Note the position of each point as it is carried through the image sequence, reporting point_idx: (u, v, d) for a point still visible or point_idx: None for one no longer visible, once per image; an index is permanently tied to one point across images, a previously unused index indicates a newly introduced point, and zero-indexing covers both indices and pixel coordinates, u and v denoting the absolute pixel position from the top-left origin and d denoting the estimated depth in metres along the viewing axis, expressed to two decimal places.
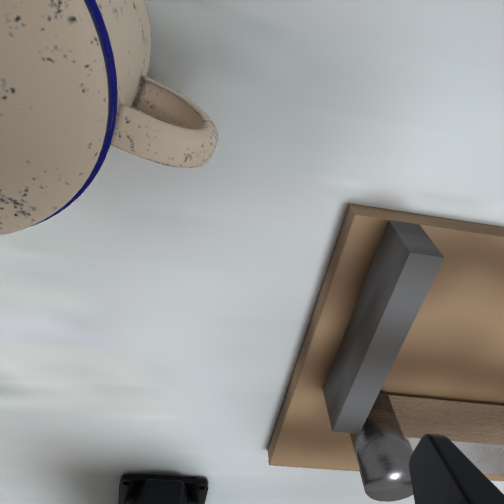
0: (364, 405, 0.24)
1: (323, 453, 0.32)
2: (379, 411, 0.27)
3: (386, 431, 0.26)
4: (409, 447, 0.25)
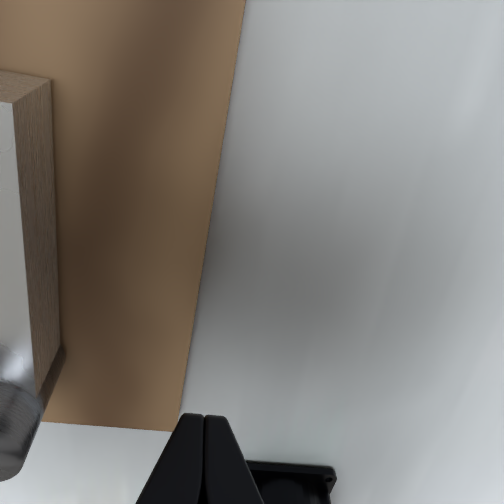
0: None
1: (147, 382, 0.22)
2: None
3: None
4: None
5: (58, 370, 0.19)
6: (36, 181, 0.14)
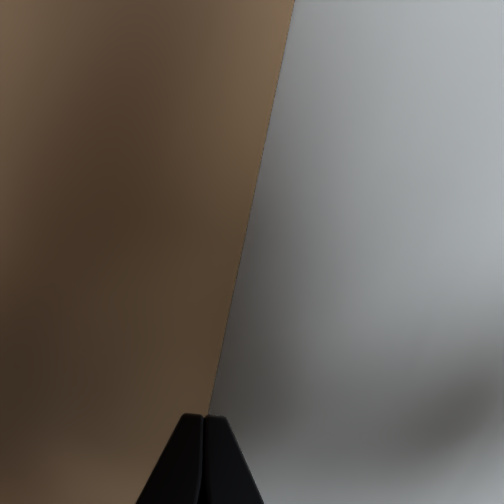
0: None
1: None
2: None
3: None
4: None
5: None
6: None
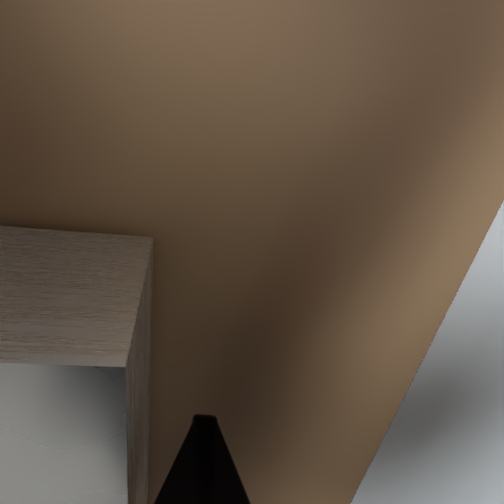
0: None
1: None
2: None
3: None
4: None
5: None
6: (140, 423, 0.08)
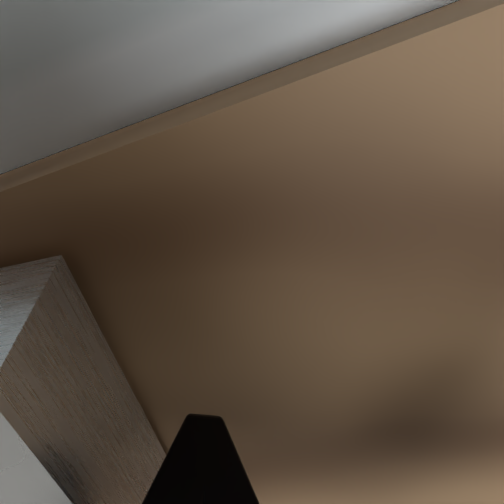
0: None
1: None
2: None
3: None
4: None
5: None
6: (103, 435, 0.08)
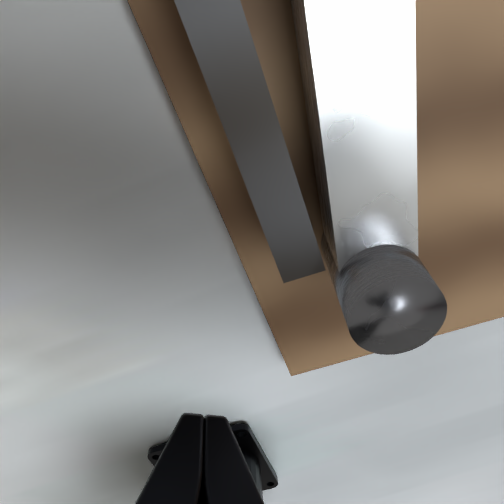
0: (295, 220, 0.15)
1: (349, 334, 0.22)
2: (329, 273, 0.18)
3: (337, 293, 0.17)
4: (344, 278, 0.16)
5: None
6: None
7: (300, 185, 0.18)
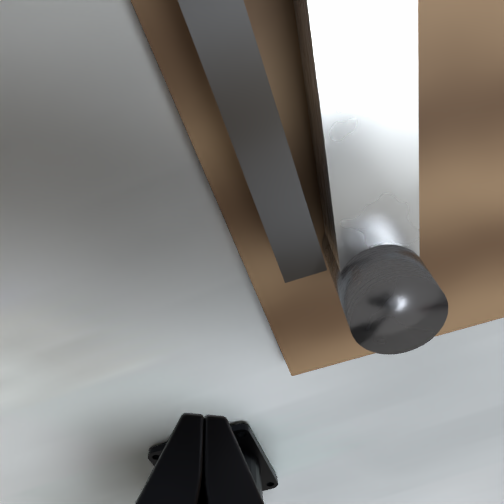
0: (297, 220, 0.15)
1: (350, 334, 0.22)
2: None
3: (338, 293, 0.17)
4: (346, 278, 0.16)
5: None
6: None
7: (302, 185, 0.18)
